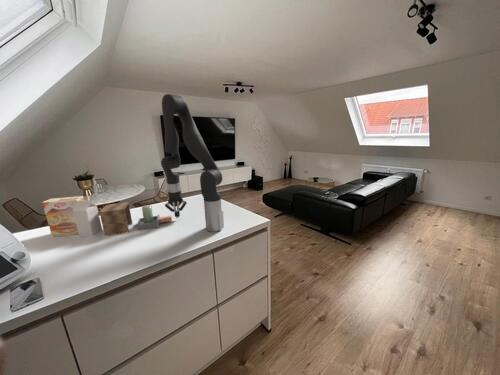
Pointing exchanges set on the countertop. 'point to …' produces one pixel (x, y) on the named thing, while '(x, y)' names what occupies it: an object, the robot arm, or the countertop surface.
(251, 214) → the countertop surface
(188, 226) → the countertop surface
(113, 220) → the cabinet
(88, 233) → the milk carton
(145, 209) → the jar
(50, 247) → the countertop surface
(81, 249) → the countertop surface
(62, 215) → the coffeecake box
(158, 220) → the tray
